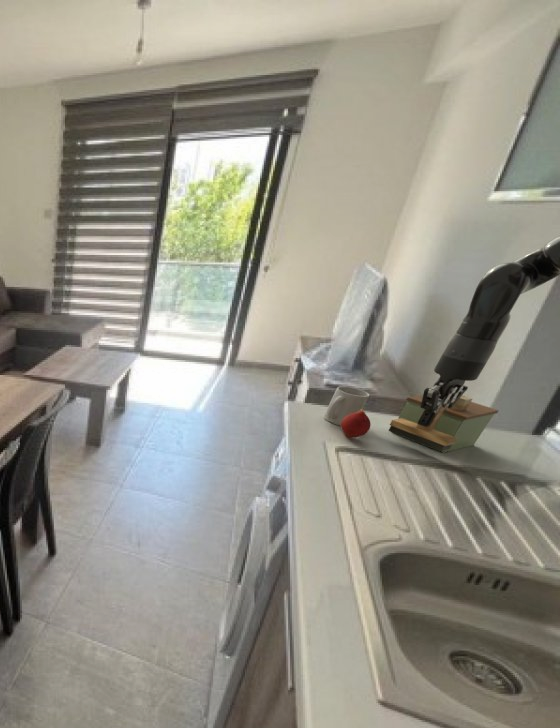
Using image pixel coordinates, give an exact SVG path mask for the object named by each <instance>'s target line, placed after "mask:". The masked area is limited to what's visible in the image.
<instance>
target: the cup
mask: <svg viewBox="0 0 560 728" xmlns="http://www.w3.org/2000/svg"><path fill="white" fill-rule="evenodd" d="M369 397H370V393H368V392H367V391H366V390H362V389H360V388H356V387H352V386H345V385H344V386H343V385H340V386H337V387H336V390H335V392H334V393H333V396H332V398H331V400H330V402H329V404H328V406H327V408H326V411H325V413H324V415H323V417H324V419H325V421H327V422H328V423H330V424H334V425H336V426H341V422H342V420H343V419H344V418H345V417H346V416H348V415H350V414H352V413H356V412H358V411H359V410H360V409H362V410H364V409H363V408H364V407H365V405H366V403H367V401H368V399H369Z"/></svg>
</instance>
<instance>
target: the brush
mask: <svg viewBox="0 0 560 728" xmlns="http://www.w3.org/2000/svg"><path fill="white" fill-rule="evenodd" d="M444 409H445V407H442V406H441V408H440V409H439V411H438V412H437V414H436V416H435V417H434V419H433V421H432V423H431V424H430V426H428V427H424V426H421V425H419V424H417V423H414V422H411V421H408V420H406V419H403V418H399V417H398V418H399V419H398V418H395V419H391V421H390V423H389V429H388V432H390V433H392V434H395V433H396V434H395V435H397V436H400V435H401V436H400V437H403V438H405V437H406V439H408V438H409V439H408V440H410V439H411V440H410V441H413V440H414V441H413V442H415V441H416V442H415V443H418V442H419V443H418V444H420V443H422V444H421V445H423V444H424V445H423V446H425V445H427V446H426V447H428V446H429V447H428V448H430V447H432V448H431V449H433V448H435V449H437V450H436V451H438V450H440V451H443V450H447V449H450V447H451V446H452V444H455V443H456V441H457V440H458V438H456V437H453V436H450V435H448V434H445V433H442V432H439V431H436V430H434V429H433V428H434V426H435V425H436V423H437V421H438V420H439V418H440V416H441V414H442V413H443V411H444ZM435 449H434V450H435ZM440 451H439V452H440Z"/></svg>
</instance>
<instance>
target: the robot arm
mask: <svg viewBox="0 0 560 728" xmlns="http://www.w3.org/2000/svg"><path fill="white" fill-rule="evenodd" d="M559 276H560V235H558V236H557V237H555V238H553V239H552V240H550V241H548V242H547V243H546V244H544V246H543V247H541V248H539V249H537V250H534V251H533V252H530V253H529V254H526V255H524V256H522V257H520V258H518V259H516V260H514V261H511V262H504V263H501V264H498V265H495V266H493V267H492V268H490V269H489V270H488V271H486V272H485V273H484V274H483V276H482V277H481V279H480V280H479V282H478V283H477V286H476V288H475V290H474V293H473V296H472V298H471V301H470V304H469V306H468V310H467V312H466V314H465V315H464V317H463V318H462V320H461V322H460V324H459V326H458V327H457V329H456V331H455V333H454V334H453V336H452V338H451V339H450V340H449V342H448V343H447V344H446V347H445V349H444V350H443V352H442V354H441V356H440V358H439V360H438V361H437V363H436V365H435V367H434V369H433V371H434V373H436V374H437V375H439V377H438V379H437V380H436V381H434V383H433V384H432V386H431V388H430V387H426V388H425V389H424V391H423V394H422V395H423V398H422V403H421V408H423V409H424V412H423V414H422V416H421V417H420V419H419V421H418V424H419V425H421V426H424V427H428V426H430V424H431V423H432V421H433V419H434V417H435V416H436V414H437V412H438V411H439V409H440V408H441V406H442V407H445V409H444V411H443V412H445V411H446V410H447V408H449V409H450V408H451V407H452V406H453V405H454V404H455V403H456V402H457V400H458V399H459V398H460V397H461V396H462V395H463V396H464V394H465V393H466V391H467V390H468V388H469V386H467V385H465V383H466V382H467V381H468V382H470V381H471V382H472V381H476V380H478V378H479V377H480V375H481V373H482V372H483V370H484V368H485V366H486V365H487V363H488V361H489V360H490V359H491V356H492V355H493V353H494V351H495V349H496V347H497V344H498V341H499V340H500V338H501V337H502V335H503V333H504V331H505V330H506V328H507V327H508V325H509V322H510V321H511V311H512V310H513V308H514V306H515V304H516V303H517V301H518V299H519V298H520V296H521V295H523V294H525V293H527V292H529V291H531V290H534V289H536V288H537V287H540V286H541V285H544V284H546V283H548V282H550V281H551V280H553V279H556V278H557V277H559ZM449 398H450V399H449ZM441 415H442V414H441ZM440 417H441V416H440ZM437 422H438V421H437Z"/></svg>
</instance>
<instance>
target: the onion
mask: <svg viewBox="0 0 560 728" xmlns="http://www.w3.org/2000/svg"><path fill="white" fill-rule="evenodd" d="M371 425H372V424H371V419H370V417H369V416H368V415H367V414H366V412H365V409H360V410H359V411H358V412H356V413H352V414H350V415H348V416H346V417H345V418H344V419H343V420H342V422H341V425H340V429H341V431H342V432H343V434H344V436H345V437H346V438H347V439H354V438H359V437H362V436H364V435H366V434H367V433H368V432H369V431H370V430H371Z"/></svg>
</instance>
